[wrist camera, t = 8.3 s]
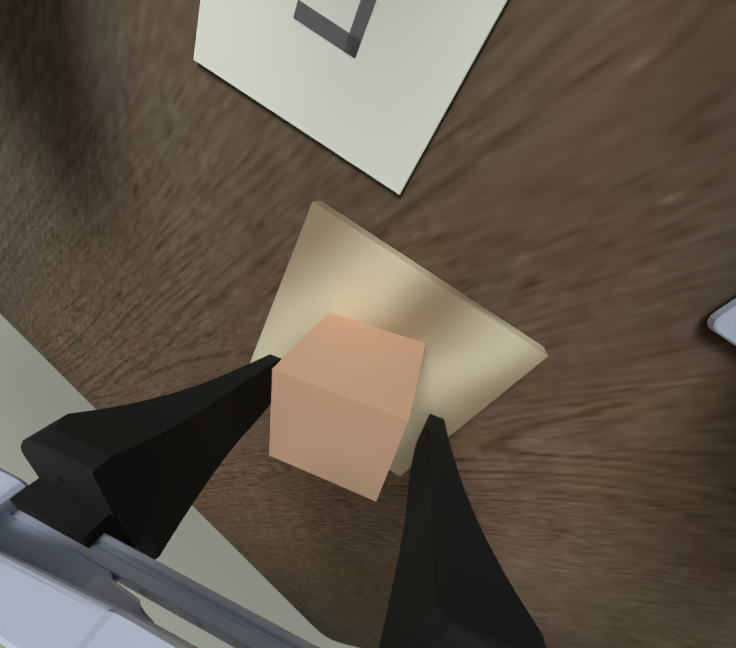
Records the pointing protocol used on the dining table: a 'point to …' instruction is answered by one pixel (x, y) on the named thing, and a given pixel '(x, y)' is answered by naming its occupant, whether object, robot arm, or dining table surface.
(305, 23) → the white card
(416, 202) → the dining table surface
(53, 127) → the dining table surface
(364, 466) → the terracotta block
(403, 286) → the birch pad
